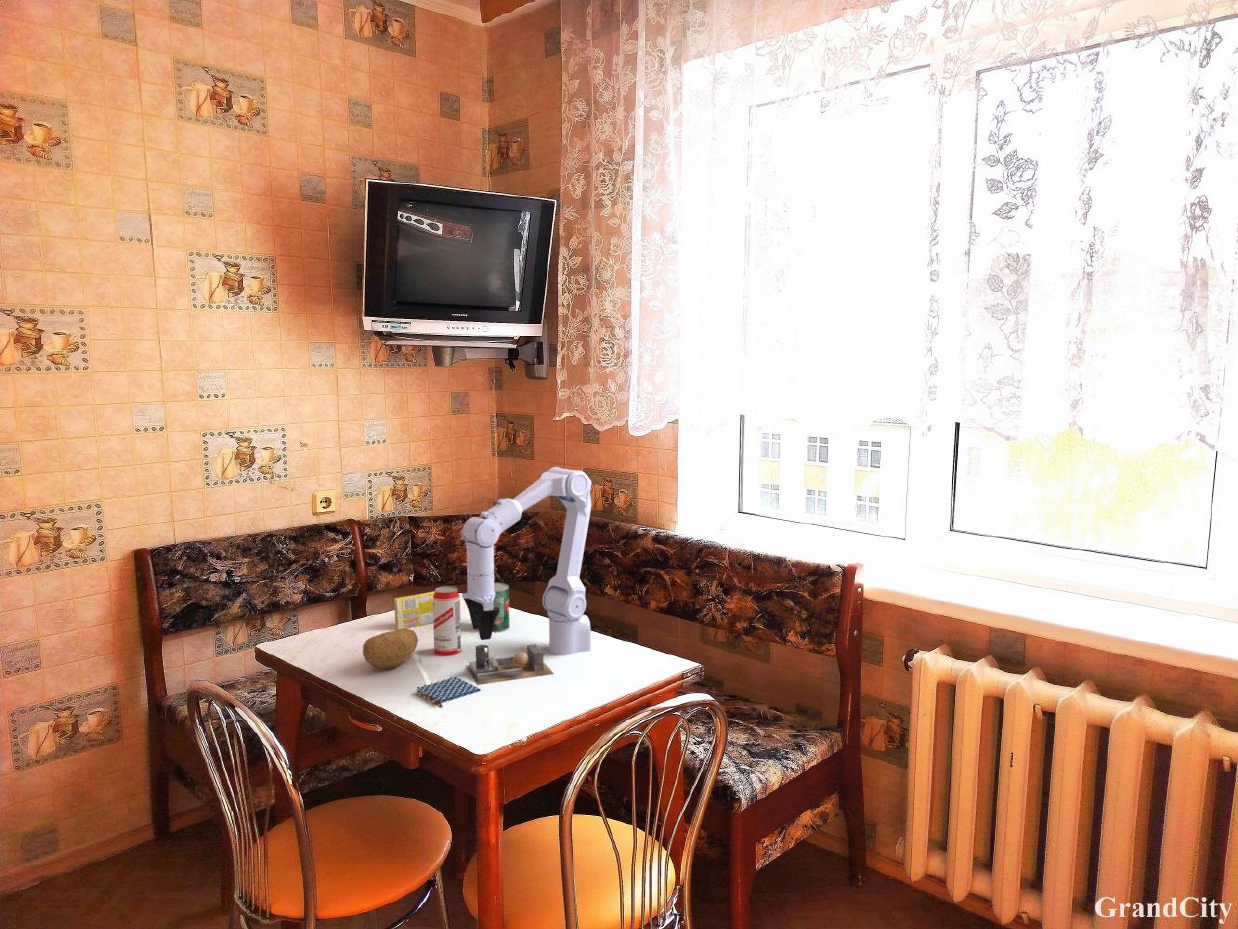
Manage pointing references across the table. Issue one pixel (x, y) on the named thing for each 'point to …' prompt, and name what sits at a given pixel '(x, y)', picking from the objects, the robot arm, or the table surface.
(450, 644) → the beer can
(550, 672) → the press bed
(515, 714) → the table surface
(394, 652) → the potato
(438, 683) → the woven mat
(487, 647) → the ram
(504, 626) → the canned tomato
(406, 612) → the candy box
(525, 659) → the walnut
